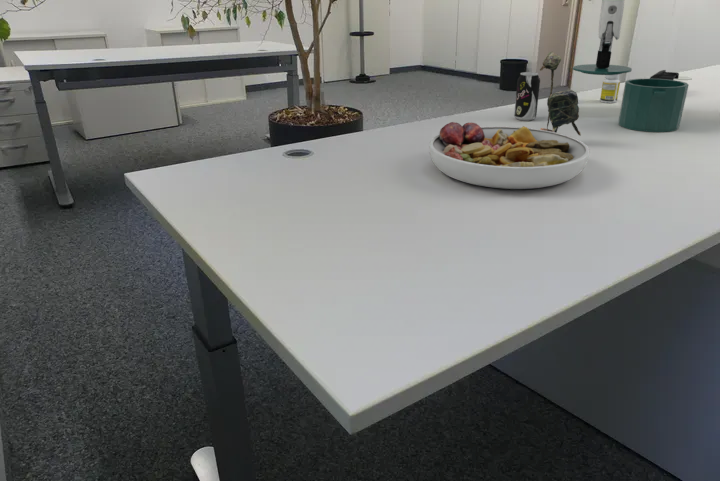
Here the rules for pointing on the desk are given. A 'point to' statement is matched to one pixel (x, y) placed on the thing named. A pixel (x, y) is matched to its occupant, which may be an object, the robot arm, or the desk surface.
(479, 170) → the bowl
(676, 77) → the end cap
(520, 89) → the beverage can
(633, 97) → the pot
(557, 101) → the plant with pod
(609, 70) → the lid
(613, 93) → the supplement bottle
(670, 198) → the desk surface
